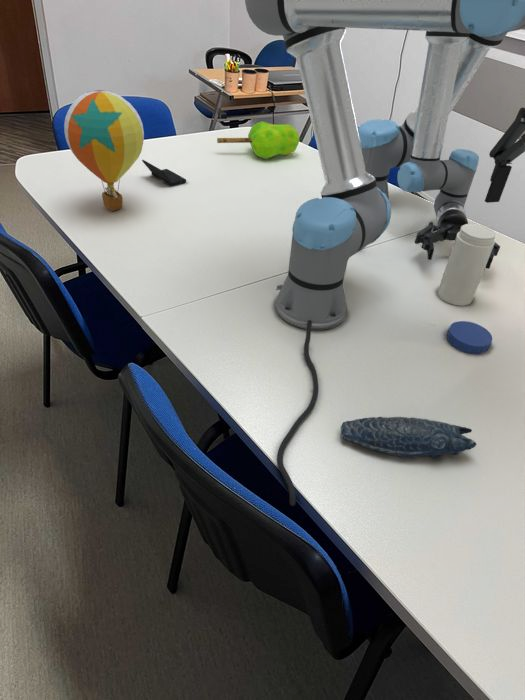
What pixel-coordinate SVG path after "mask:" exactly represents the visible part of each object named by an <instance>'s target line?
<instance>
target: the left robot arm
mask: <svg viewBox="0 0 525 700" xmlns="http://www.w3.org/2000/svg"><path fill="white" fill-rule="evenodd" d="M244 2H245V9H246V12H247V15H248V17H249V19H250V20H251V22H252V23H253V25H254V26H255V27H256V28H257V29H258V30H260V31H261V32H263V33H265V34H267V35H271V36H274V37H275V36H276V37H277V36H279V37H280V36H282V37H283V42H284V46H285V50H286V53H287V54H289V55H290V56H292V57H293V58H295V60H296V62H297V67H298V71H299V74H300V79H301V85H302V86H303V87H302V88H303V92H304V97H305V100H306V105H307V108H308V114H309V118H310V123H311V126H312V131H313V135H314V139H315V144H316V148H317V152H318V156H319V161H320V165H321V169H322V173H323V177H324V182H325V183H324V186H323V188H322V189H321V191H320V196H321V198H320V197H314V198H311V199H309V200H307V201H305V202H303V203H302V204H301V205H300V206H299V207H298V208H297V210H296V212H295V217H294V221H293V223H292V234H291V235H292V236H291V243H290V244H291V245H290V254H289V262H288V263H289V264H288V270H287V271H288V272H287V275H286V278H285V279H284V282H283V283H282V284H278V285H276V291H278V294H277V296H276V300H275V311H276V313H277V315H278V316H279V317H280V318H281V319H282V320H283V321H284V322H286V323H287V324H289V325H291V326H293V327H296V328H300V329H304V330H306V333H305V339H304V346H303V354H304V359H305V362H306V364H307V366H308V368H309V370H310V372H311V376H312V383H313V385H312V387H313V389H312V395H311V398H310V401H309V404H308V406H307V407H306V409H305V410H304V411H303V412H302V413H301V414H300V415H299V416H298V418H297V419H296V420H295V422H293V424H292V426H291V428H290V429H289V430H288V432H287V433H286V435H284V438H283V439H282V441H281V443H280V445H279V447H278V450H277V453H276V463H277V467H278V470H279V473H280V474H281V476H282V478H283V479H284V482H285V484H286V486H287V489H288V494H289V495H288V497H289V505H290V506H291V507H294V506H296V491H295V486H294V483H293V481H292V478H291V477H290V474H289V473H288V471H287V469H286V467H285V465H284V453H285V449H286V447H287V445H288V443H289V442H290V440H291V439H292V437H293V436H294V434H295V433H296V431H297V430H298V428H299V426H300V425H301V424H302V422H303V421H305V419H306V418H307V417H308V416H309V414H311V412H312V410H313V409H314V407H315V405H316V403H317V400H318V396H319V395H318V394H319V380H318V379H319V378H318V374H317V369H316V367H315V365H314V363H313V361H312V360H311V357H310V353H309V349H310V341H311V335H312V331H324V330H325V331H326V330H329V329H333V328H336V327H337V326H339V325H340V324H342V323H343V322H344V320H345V318H346V315H347V310H348V305H347V297H346V292H345V286H344V280H345V275H346V271H347V267H348V266H347V265H348V261H349V259H350V258H351V257H353V256H354V255H356V254H357V253H359V252H360V251H362V250H363V249H364V248H366V247H367V246H369V245H371V244H374V242H376V241H377V240H378V239H379V238H381V235H383V234H384V233H385V231H386V230H387V229H388V226H389V225H390V222H391V218H392V207H391V203H390V199H389V200H388V198H387V196H386V195H385V193H382V192H381V190H380V189H379V188H377V184H376V179H375V177H374V176H372V175H371V174H369V173H368V172H367V171H366V168H365V163H364V158H363V153H362V149H361V144H360V139H359V134H358V125H357V124H358V123H357V121H356V115H355V111H354V106H353V105H354V104H353V101H352V96H351V95H352V94H351V90H350V85H349V81H348V80H349V79H348V75H347V71H346V65H345V62H344V60H345V59H344V56H343V50H342V47H341V46H342V45H341V43H342V40H343V39H344V37H345V36H346V32H347V29H346V28H348V29H371V30H372V29H373V30H392V31H393V30H396V31H419V32H426V31H438V32H460V33H473V34H476V35H478V36H482V37H495V36H500V35H503V34H505V33H507V32H508V33H510V32H516V31H521V30H523V31H525V0H244ZM508 33H507V34H508ZM524 132H525V107H521V108H519V110H518V112H517V114H516V117H515V119H514V120H513V122H512V123H511V124H510V126H509V127H508V128H507V129H506V131H505V132H504V133H503V135H502V136H501V137H500V138H499V139H498V141H497V142H496V144H495V145H494V146H492V147H493V148H492V149H491V150H490V151H489V154H488V155H489V158H490V159H491V158H492V159H493V160H494V167H493V170H492V173H491V176H490V181H489V182H490V185H489V187H488V190H487V193H486V196H485V199H484V202H485V203H488V204H489V203H499V202H500V201H501V198H502V195H503V192H504V190H505V186H506V184H507V182H508V179H509V177H510V174H511V171H512V168H513V166H511V165H512V164H513V161H515V160H516V159H517V158H518V157H520V156H521V155H522V154H524V153H525V133H524Z"/></svg>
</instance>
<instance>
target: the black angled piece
mask: <svg viewBox="0 0 525 700" xmlns="http://www.w3.org/2000/svg"><path fill="white" fill-rule="evenodd" d="M141 161H142V163H143V164H144V165H145V167H147V169H148V170H149V171H150V172H151V174H150V175H151V176H153V177H155V178H156V179H158V180H160V181H162V182H163V183H165V184H167V185H168V186H170V187H172V186H177V185H180V184H184V183H185V184H186V183H187V179H186V178H184V177H183V176H181V175H179V174H177V173H175V172H173V171H172V170H170V169H168V168H164V169H161V168H159V167H157V166H155V165H153V164H151V163H150V162H148V161H146V160H145V159H142V160H141Z"/></svg>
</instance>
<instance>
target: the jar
mask: <svg viewBox="0 0 525 700" xmlns="http://www.w3.org/2000/svg"><path fill="white" fill-rule="evenodd" d="M495 239H496V231H494V230H493V229H492V228H491V227H488V226H485V225H483V224H479V223H468V224H465V225H463V226H462V227H461V229H460V232H458V233H457V235H456V238H455V241H453V244H452V248H451V250H450V254H449V257H448V259H447V262H446V265H445V267H444V272H443V274H442V277H441V280H440V283H439V286H438V289H437V296H438V297H439V298H440V299H441V300H442V301H444V302H445V303H448V304H451V305H454V306H462V307H463V306H468V305H470V304H471V303H472V302H473V300H474V298H475V295H476V293H477V291H478V287H479V285H480V282H481V280H482V277H483V274H484V272H485V269H486V264H487V262H488V259H489V257H490V254H491V252H492V249H493V246H494V244H495V243H496V241H495Z"/></svg>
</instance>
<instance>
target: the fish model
mask: <svg viewBox="0 0 525 700" xmlns="http://www.w3.org/2000/svg"><path fill="white" fill-rule="evenodd" d="M472 431H473V429H471V428H470V427H466V426H460V425H456V424H450V423H448V422H443V421H437V420H431V419H427V418H421V417H420V418H419V417H405V416H392V417H387V416H386V417H385V416H377V417H375V416H373V417H372V416H371V417H363V418H358V419H353V420H347V421H343V422H342V423H341V425H340V432H341V434H340V439H343V440H347V441H349V442H353V443H354V444H355V445H359V446H361V447H363V448H367V449H370V450H371V451H375V452H380V453H383V454H385V453H387V454H389V455H391V456H399V457H407V458H413V457H423V456H427V457H430V458H439V457H440V456H441V455H445V454H451V455H454V456H457V455H459V454H460V453H461V452H464V451H468V450H472V449H474V448H475V447H476V446H477V443H476V441H474V440H473V439H472V438H469V437H467V436H465V435H464V434H470V433H471V432H472Z"/></svg>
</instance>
